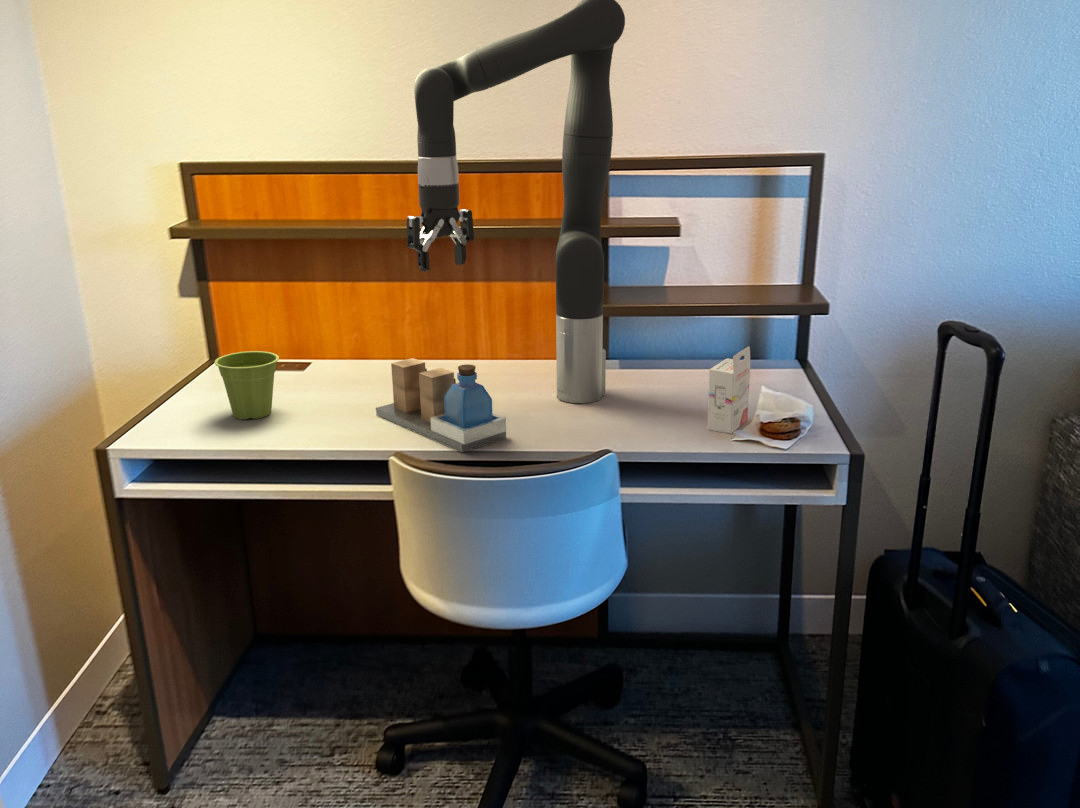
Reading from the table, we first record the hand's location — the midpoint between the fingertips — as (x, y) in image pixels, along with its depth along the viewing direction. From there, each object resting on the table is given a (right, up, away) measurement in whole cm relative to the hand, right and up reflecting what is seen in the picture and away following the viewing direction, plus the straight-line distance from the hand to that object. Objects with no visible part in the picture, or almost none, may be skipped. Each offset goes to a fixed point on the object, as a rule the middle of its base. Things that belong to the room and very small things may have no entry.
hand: (442, 267), depth 182 cm
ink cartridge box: (+53, -30, -5) cm, 62 cm away
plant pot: (-37, -28, +4) cm, 47 cm away
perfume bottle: (+6, -31, -11) cm, 33 cm away
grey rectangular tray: (0, -30, -4) cm, 31 cm away
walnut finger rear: (-6, -27, +2) cm, 28 cm away
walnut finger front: (0, -29, -5) cm, 29 cm away
